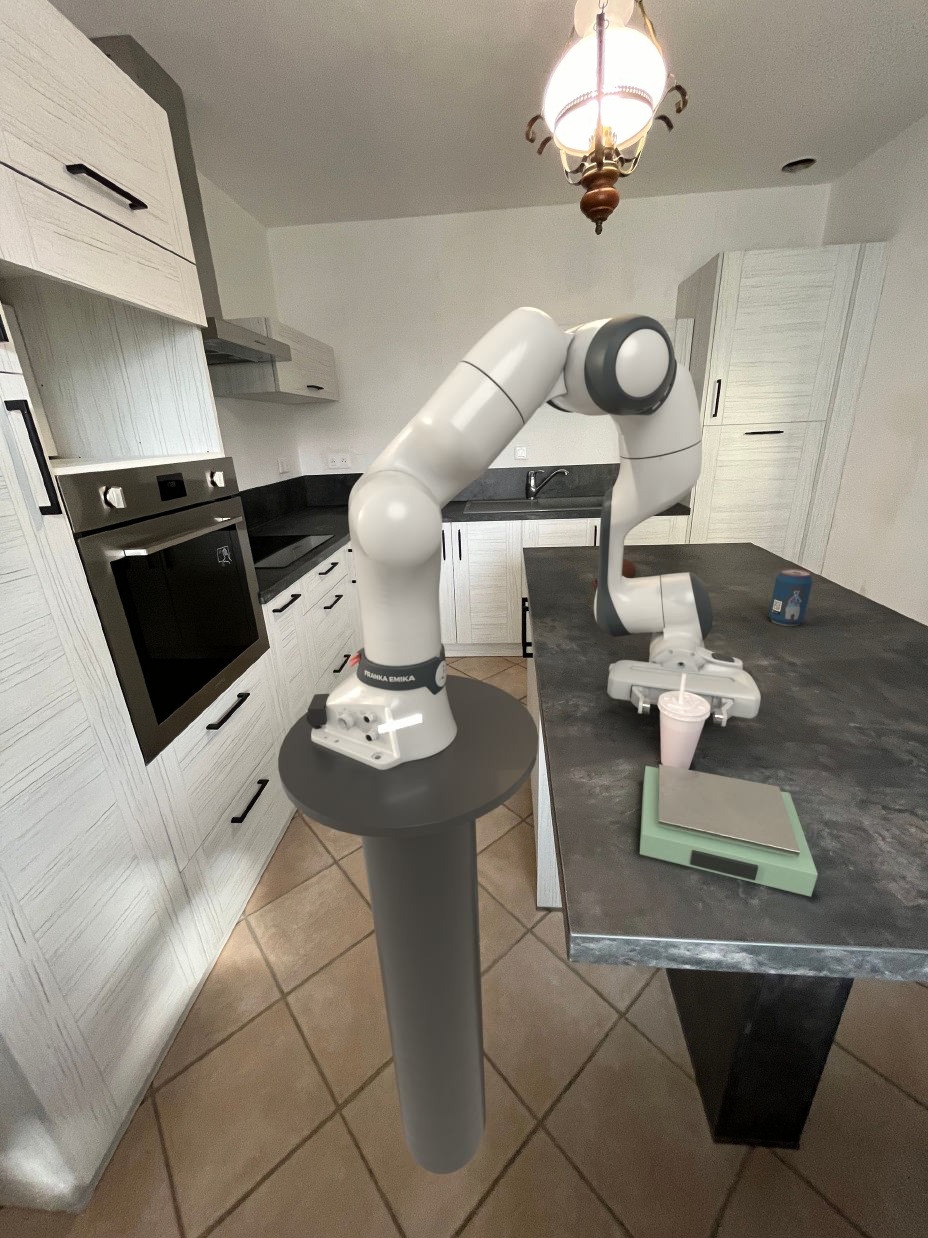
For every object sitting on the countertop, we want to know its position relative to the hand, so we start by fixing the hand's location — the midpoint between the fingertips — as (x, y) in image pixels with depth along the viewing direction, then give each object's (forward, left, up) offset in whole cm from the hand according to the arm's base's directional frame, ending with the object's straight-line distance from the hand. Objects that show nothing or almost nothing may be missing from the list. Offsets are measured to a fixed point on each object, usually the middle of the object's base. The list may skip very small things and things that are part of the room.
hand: (681, 715), depth 65 cm
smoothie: (0, 0, -8) cm, 8 cm away
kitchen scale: (+4, -12, -7) cm, 15 cm away
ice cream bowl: (-13, +54, -8) cm, 56 cm away
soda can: (+25, +63, -8) cm, 68 cm away
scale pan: (+4, -12, -4) cm, 14 cm away
